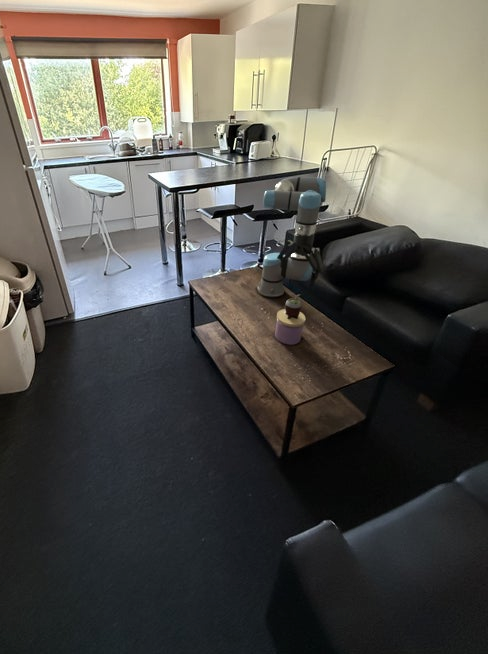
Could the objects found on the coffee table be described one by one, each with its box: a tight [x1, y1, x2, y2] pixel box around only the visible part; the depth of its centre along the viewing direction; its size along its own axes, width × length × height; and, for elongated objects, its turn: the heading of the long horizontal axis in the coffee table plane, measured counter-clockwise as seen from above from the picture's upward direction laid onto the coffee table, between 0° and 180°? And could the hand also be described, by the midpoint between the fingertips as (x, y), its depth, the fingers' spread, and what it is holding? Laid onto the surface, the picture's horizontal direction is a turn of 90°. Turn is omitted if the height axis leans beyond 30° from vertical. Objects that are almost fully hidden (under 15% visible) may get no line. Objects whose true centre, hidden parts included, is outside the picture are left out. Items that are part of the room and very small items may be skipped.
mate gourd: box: [284, 294, 302, 319], centre depth 141 cm, size 8×8×15 cm
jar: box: [274, 308, 306, 345], centre depth 148 cm, size 13×13×12 cm
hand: (296, 279), depth 136 cm, fingers open, 13 cm apart
